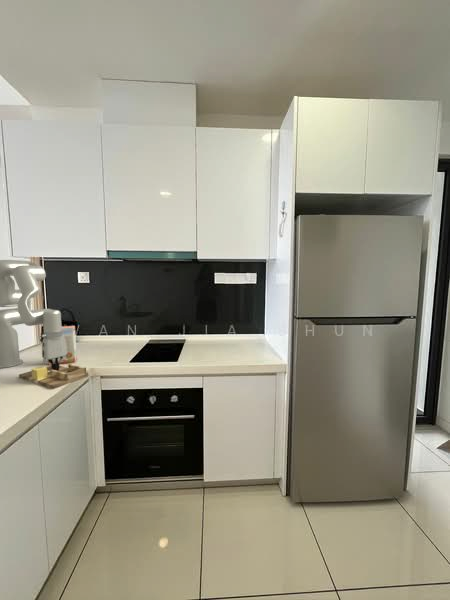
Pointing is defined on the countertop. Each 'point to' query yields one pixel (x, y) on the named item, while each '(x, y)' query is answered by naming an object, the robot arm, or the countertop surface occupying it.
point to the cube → (39, 373)
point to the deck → (51, 378)
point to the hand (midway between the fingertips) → (55, 370)
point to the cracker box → (69, 345)
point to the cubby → (67, 376)
